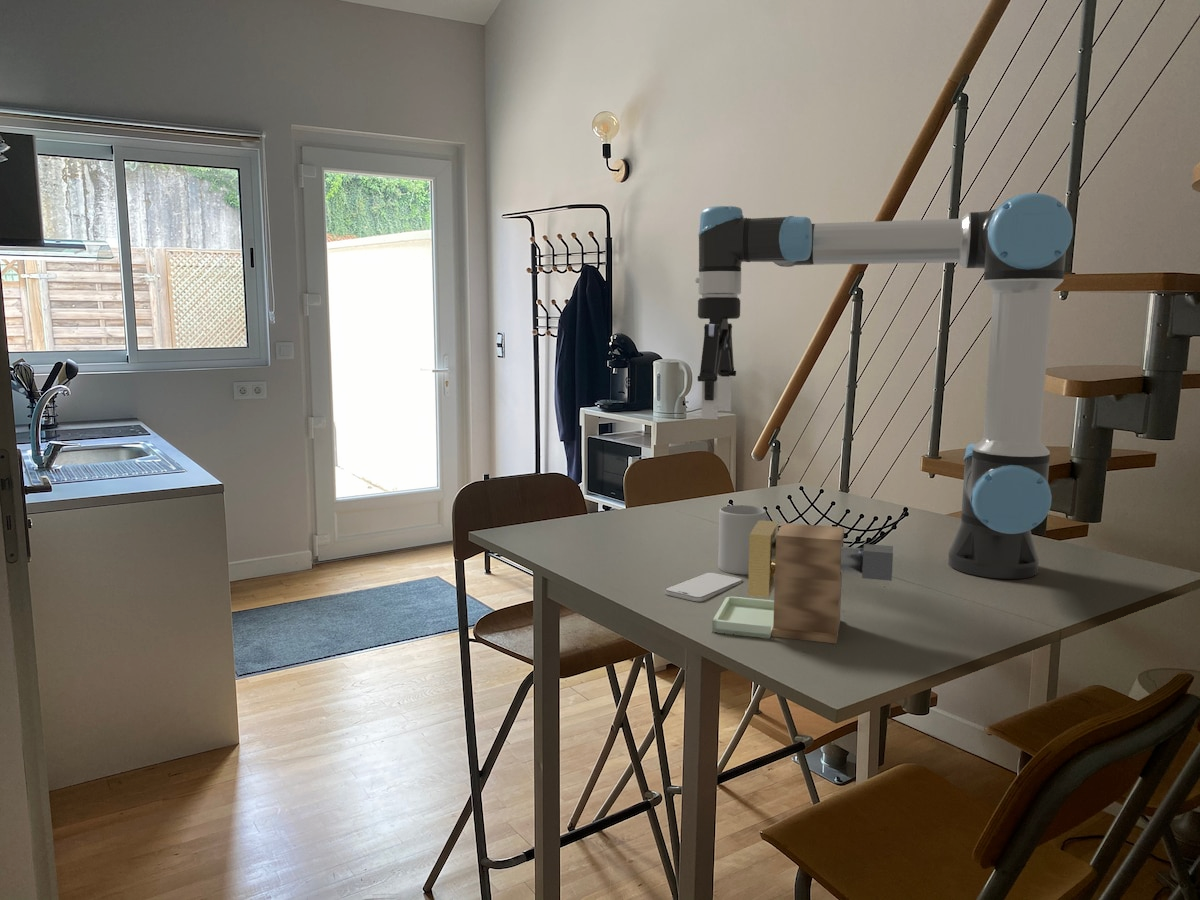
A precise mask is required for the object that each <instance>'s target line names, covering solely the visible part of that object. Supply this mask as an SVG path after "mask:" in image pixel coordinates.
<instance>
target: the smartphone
mask: <svg viewBox="0 0 1200 900" xmlns="http://www.w3.org/2000/svg"><path fill="white" fill-rule="evenodd" d="M742 582H743V579H742V578H739V577H734V576H731V575H730V576H729V575H727V574H721V573H716V572H704V573H703V574H702V573H701V574H700V575H698V576H694V577H692V578H690V579H687V580H684V581H682V582H679V583H676V584H673V585H672V586H668V587H666V588H665V589H664V593H665V595H667V596H669V597H675V598H679V599H683V600H686V601H687V600H688V601H692V602H698V603H699V602H704V601H706V600H709V599H710V598H713V597H714V596H716V595H719V594H721V593H723V592H725V591H728V590H729V589H731V588H733V587H735V586H737V585H739V584H742Z"/></svg>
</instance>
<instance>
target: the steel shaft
mask: <svg viewBox="0 0 1200 900" xmlns="http://www.w3.org/2000/svg"><path fill="white" fill-rule="evenodd" d="M775 557H776V541H774V543H773V545H772V565H771V566H775ZM893 557H894V546H893V545H881V544H870V543H869V544H868V543H863V547H854V546H853V547H850V546H843V547H841V568H840V571H841V572H842V573H854V574H855V573H856V574H862V575H861V578H862V579H867V580H881V581H892V580H893V578H892V577H893V562H894V561H893Z"/></svg>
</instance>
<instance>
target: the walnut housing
mask: <svg viewBox="0 0 1200 900" xmlns="http://www.w3.org/2000/svg"><path fill="white" fill-rule="evenodd" d="M844 537H845V527H843V526H831V525H817V524H816V525H815V524H804V523H791V522H790V523H789V522H782V523H781V525H780V527H779V528H778V533H777V535H776V557H775V585H774V588H773V589H774V592H773V593H774V594H773V595H774V596H773V598H774V599H773V600H774V622H773V630H772V635H771V637H772V638H773V637H774V638H782V639H783V638H784V639H793V640H800V641H801V640H802V641H809V642H810V641H811V642H819V643H829V644H837V642H838V636H839V630H840V624H841V607H842V605H841V604H842V586H843V585H842V581H843V572H841V571H840V568H841V547H844Z"/></svg>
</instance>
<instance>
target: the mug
mask: <svg viewBox="0 0 1200 900" xmlns="http://www.w3.org/2000/svg"><path fill="white" fill-rule="evenodd" d="M718 510H719V511H718V513H719V515H718V550H717V551H718V555H717V567H718V569H719V570H720V571H722V572H725V573H727V574H731V575H732V574H733V575H744V576H745V575H749V540H750V533H751V531H752V530H753V528H754V527H755V525H756V524H757V522H758V521H759V520H762V521H771V519H770V516H768V514H767V511H766V509H765V508H763V507H759V506H755V505H746V504H745V505H744V504H734V505H733V504H731V505H726V506H722V507H720V508H719V509H718Z"/></svg>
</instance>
